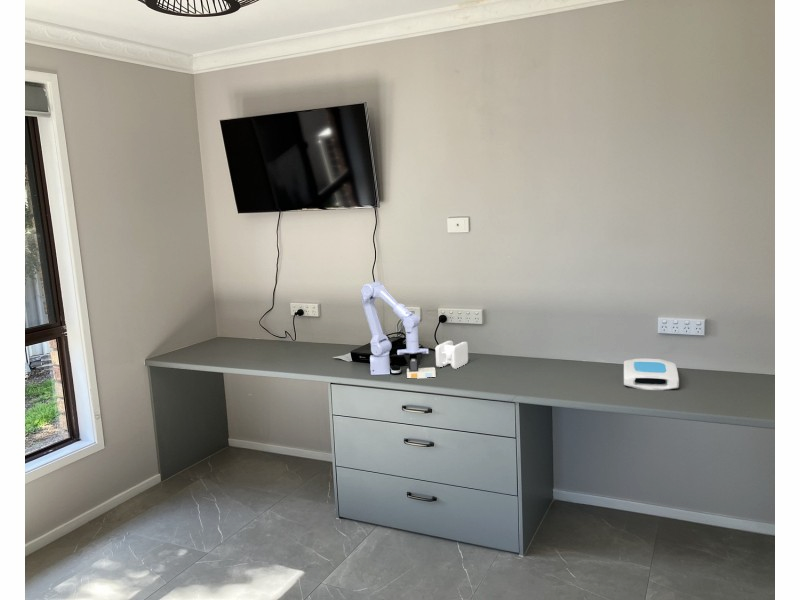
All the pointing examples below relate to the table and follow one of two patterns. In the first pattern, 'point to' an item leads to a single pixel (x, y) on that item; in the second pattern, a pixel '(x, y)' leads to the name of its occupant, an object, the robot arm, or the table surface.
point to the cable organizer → (451, 354)
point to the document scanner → (650, 373)
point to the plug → (413, 365)
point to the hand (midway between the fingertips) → (413, 368)
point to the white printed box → (421, 373)
